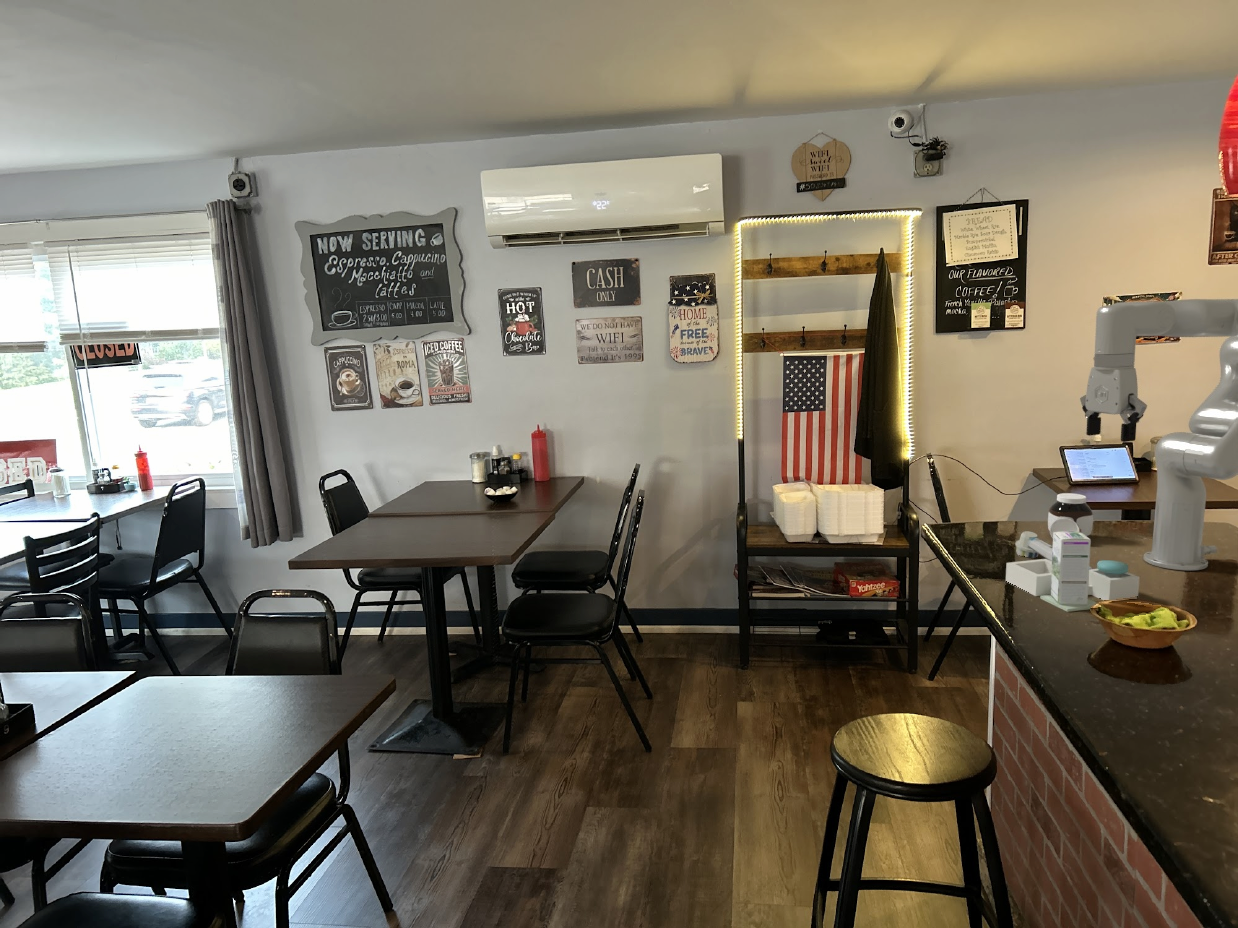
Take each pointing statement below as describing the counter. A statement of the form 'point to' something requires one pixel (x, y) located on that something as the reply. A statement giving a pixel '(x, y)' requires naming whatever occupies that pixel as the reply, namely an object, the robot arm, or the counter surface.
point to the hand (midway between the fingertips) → (1110, 437)
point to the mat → (1068, 607)
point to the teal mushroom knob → (1112, 568)
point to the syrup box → (1070, 568)
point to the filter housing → (1038, 580)
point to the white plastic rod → (1033, 546)
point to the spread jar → (1070, 514)
